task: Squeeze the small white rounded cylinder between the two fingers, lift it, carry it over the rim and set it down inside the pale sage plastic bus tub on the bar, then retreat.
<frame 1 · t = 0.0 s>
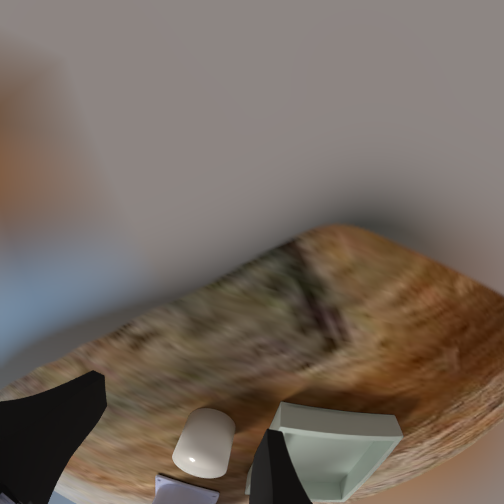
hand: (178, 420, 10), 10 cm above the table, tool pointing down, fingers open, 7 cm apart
white rounded cylinder: (211, 424, 22), on the table
bus tub: (317, 451, 22), on the table
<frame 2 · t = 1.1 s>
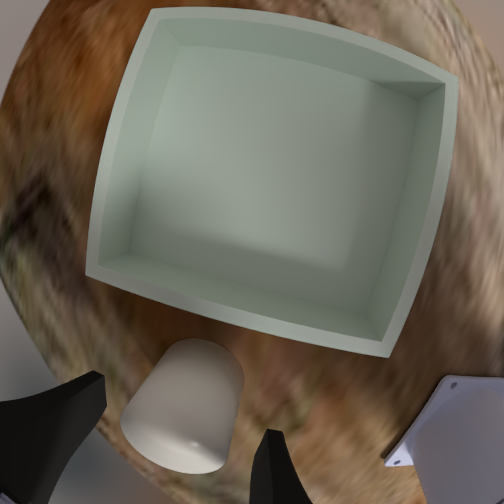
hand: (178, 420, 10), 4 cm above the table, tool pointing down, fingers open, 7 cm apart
white rounded cylinder: (201, 374, 14), on the table
bus tub: (273, 168, 11), on the table
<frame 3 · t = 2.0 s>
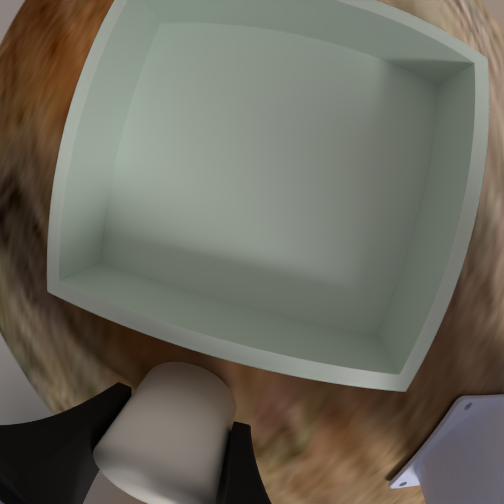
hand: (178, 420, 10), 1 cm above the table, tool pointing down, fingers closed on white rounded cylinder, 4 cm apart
white rounded cylinder: (187, 400, 11), on the table, touching gripper
bus tub: (269, 161, 9), on the table
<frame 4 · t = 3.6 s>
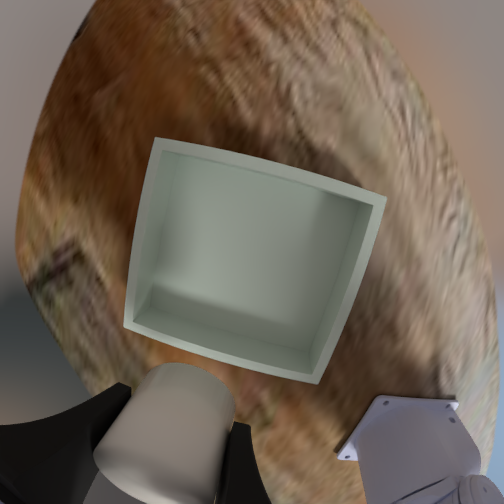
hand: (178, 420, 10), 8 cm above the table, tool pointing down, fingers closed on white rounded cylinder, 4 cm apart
white rounded cylinder: (187, 401, 12), point 7 cm above the table, touching gripper
bus tub: (247, 257, 17), on the table
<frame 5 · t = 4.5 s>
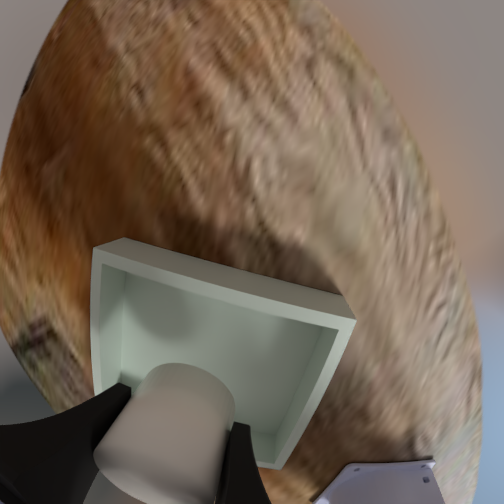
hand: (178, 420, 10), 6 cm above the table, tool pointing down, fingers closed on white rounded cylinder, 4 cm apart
white rounded cylinder: (187, 401, 12), point 4 cm above the table, touching gripper
bus tub: (208, 356, 16), on the table
when the fingers open (3 cm above the table, at t = 5.3 s): white rounded cylinder drops 2 cm, resting on bus tub.
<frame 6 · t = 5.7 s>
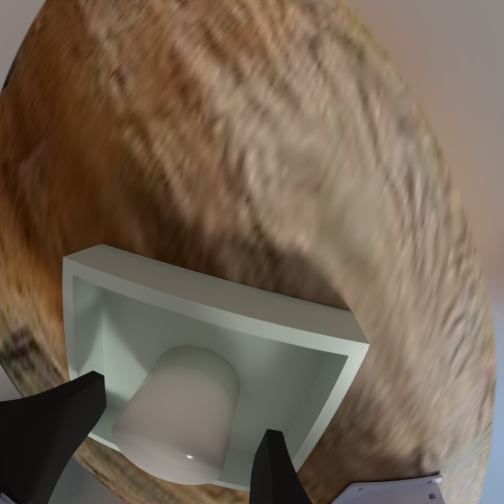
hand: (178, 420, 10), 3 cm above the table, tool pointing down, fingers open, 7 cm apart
white rounded cylinder: (196, 382, 13), resting on bus tub
bus tub: (198, 376, 13), on the table
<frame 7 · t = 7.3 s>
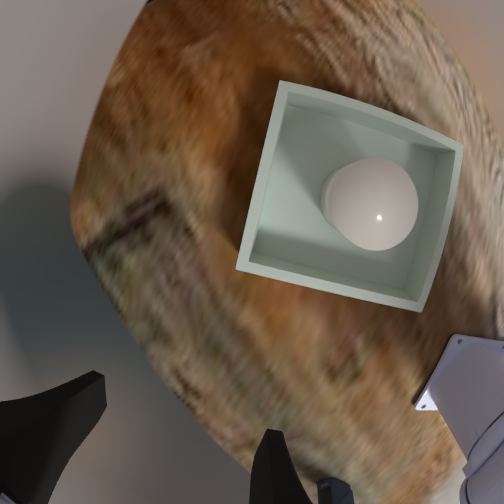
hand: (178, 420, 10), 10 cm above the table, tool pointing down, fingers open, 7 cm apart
vaping device: (334, 484, 24), on the table
white rounded cylinder: (353, 199, 17), resting on bus tub
bus tub: (351, 198, 18), on the table
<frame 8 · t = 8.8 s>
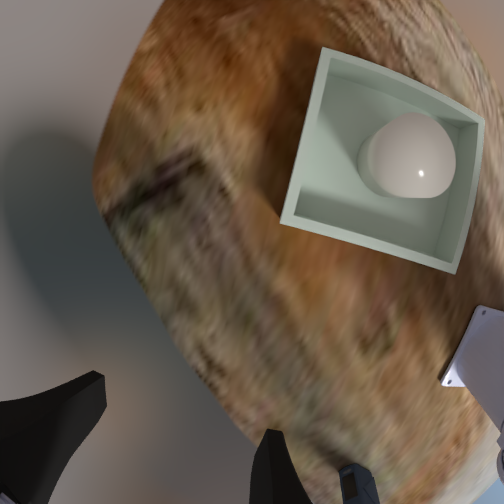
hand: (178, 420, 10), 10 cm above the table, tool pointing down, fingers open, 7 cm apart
vaping device: (355, 471, 23), on the table
white rounded cylinder: (387, 164, 17), resting on bus tub
bus tub: (385, 164, 17), on the table
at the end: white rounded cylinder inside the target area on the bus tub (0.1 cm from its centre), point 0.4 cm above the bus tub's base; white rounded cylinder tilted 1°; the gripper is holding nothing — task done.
